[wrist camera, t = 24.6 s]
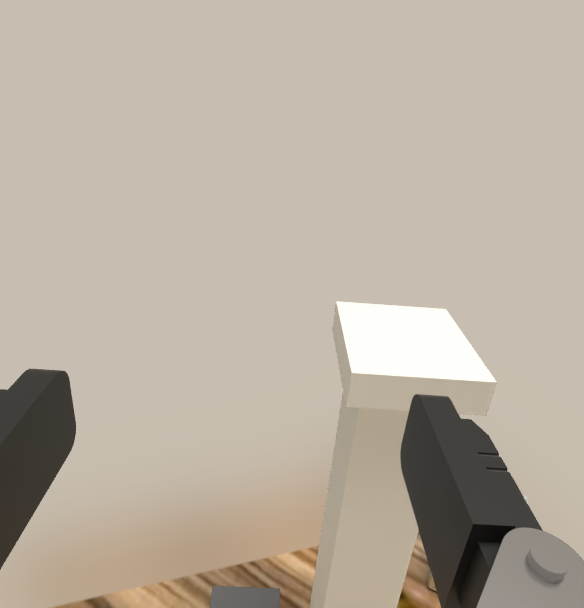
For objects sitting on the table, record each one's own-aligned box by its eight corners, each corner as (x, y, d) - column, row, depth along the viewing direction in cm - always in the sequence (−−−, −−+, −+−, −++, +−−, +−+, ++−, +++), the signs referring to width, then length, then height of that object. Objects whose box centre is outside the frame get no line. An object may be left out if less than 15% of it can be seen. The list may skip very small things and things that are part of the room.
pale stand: (293, 622, 43) (336, 301, 29) (367, 625, 43) (445, 309, 29) (294, 730, 36) (351, 373, 22) (383, 733, 36) (496, 382, 22)
